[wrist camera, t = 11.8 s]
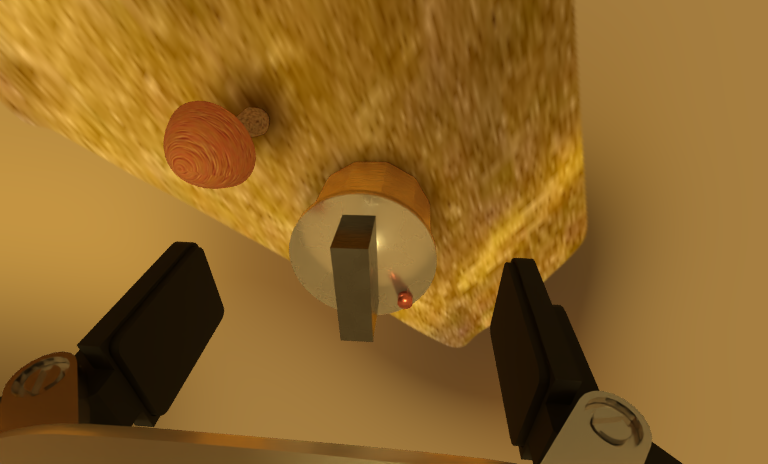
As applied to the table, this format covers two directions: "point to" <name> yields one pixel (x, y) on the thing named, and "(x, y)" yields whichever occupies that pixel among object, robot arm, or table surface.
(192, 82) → the table surface
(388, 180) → the pot
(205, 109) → the mushroom
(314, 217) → the lid
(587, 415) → the robot arm
